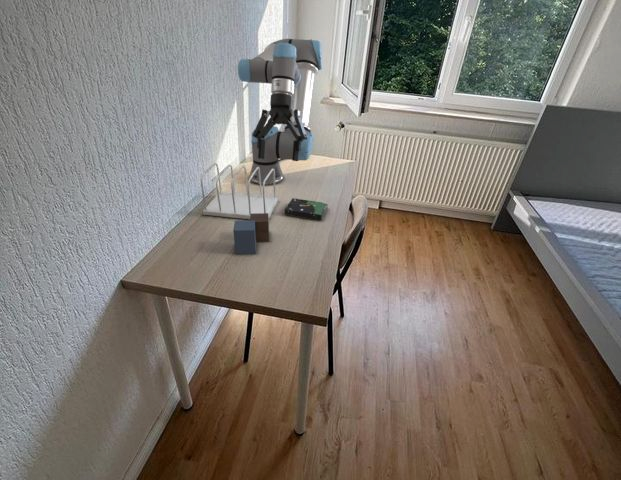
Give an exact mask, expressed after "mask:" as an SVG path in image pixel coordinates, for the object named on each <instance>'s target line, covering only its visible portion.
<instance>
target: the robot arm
mask: <svg viewBox="0 0 621 480" xmlns="http://www.w3.org/2000/svg"><path fill="white" fill-rule="evenodd" d="M322 69H323V53H322V43H321V42H320V41H319V40H317V39H316V40H315V39H302V38H301V39H299V38H282V39H278V40H276V41H273V42H271V43H269V44H268V45H267V46H266V47H265V48H264V50H263V51H262V52H261V53H259V54H258V55H256V56H255V57H253V58H251V59H250V58H241V59H240V60H239V61H238V64H237V75H238V78H239V80H240V81H241V82H245V83H255V84H257V83H258V84H270V87H271V88H270V93H271V95H270V101H269V103H270V104H269V105H270V109H269V110H267V109H262V110H261V114H260V118H259V120H258V122H257V124H256V127H255V128H254V129H253V130H252V132H251V140H250V142H251V151H252V152H251V153H252V154H251V155H252V165H251V169H250V171H249V178H250V177H251V175H252V174H253V172H254V171H255V169H256V168H257V167H259V168H260V177H261V186H263V182H264V179H265V178H266V176H267V175H268V174H269V172H270V171H271V169H274V171H275V185H276V184H279V183H281V182H282V181H283V179H284V178H283V177H284V174H283V171H282V168H281V166H280V162H282V161H284V160H289V161H290V160H291V161H292V162H299V161H308V160H309V159H310V157H311V154H312V151H313V146H314V139H315V136H314V134H313V133H312V130H311V128H310V127H309V123H310V114H311V104H312V96H313V87H314V80H315V77H317V75H318V73H319V71H321V70H322ZM276 125H285V127H284V130H283V131H281V130H280V129H279V128H278V127H277V126H276ZM279 130H280V131H279ZM250 182H252V183H254V184H256V185H260V184H259V172H258V169H257V171H256V172H255V174H254V176H253V177H252V179H251V180H250ZM272 185H274V180H273V171H272V172H271V174H270V175H269V177H268V178H267V180H266V181H265V185H264V186H272Z"/></svg>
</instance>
